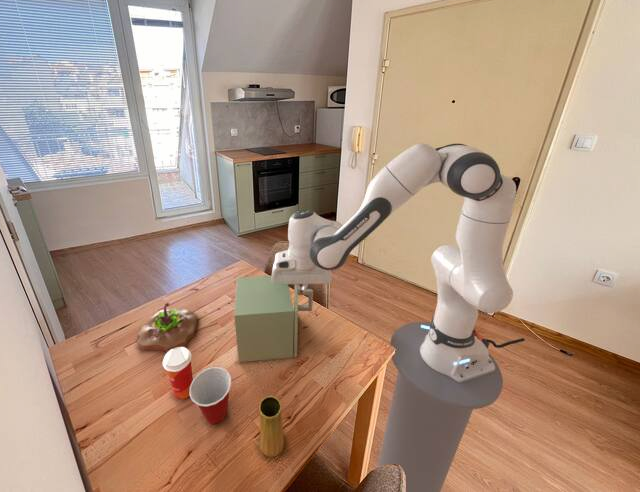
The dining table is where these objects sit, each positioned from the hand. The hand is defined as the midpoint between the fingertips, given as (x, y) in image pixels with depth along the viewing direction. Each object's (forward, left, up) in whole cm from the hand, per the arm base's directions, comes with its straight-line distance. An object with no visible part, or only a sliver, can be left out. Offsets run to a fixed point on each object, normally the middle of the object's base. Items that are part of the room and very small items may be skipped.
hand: (301, 292), depth 101 cm
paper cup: (+38, +20, -18) cm, 46 cm away
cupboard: (+13, +2, -17) cm, 22 cm away
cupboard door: (-1, +2, -17) cm, 17 cm away
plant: (+48, -5, -18) cm, 52 cm away
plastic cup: (+28, +28, -18) cm, 43 cm away
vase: (+13, +37, -18) cm, 43 cm away
